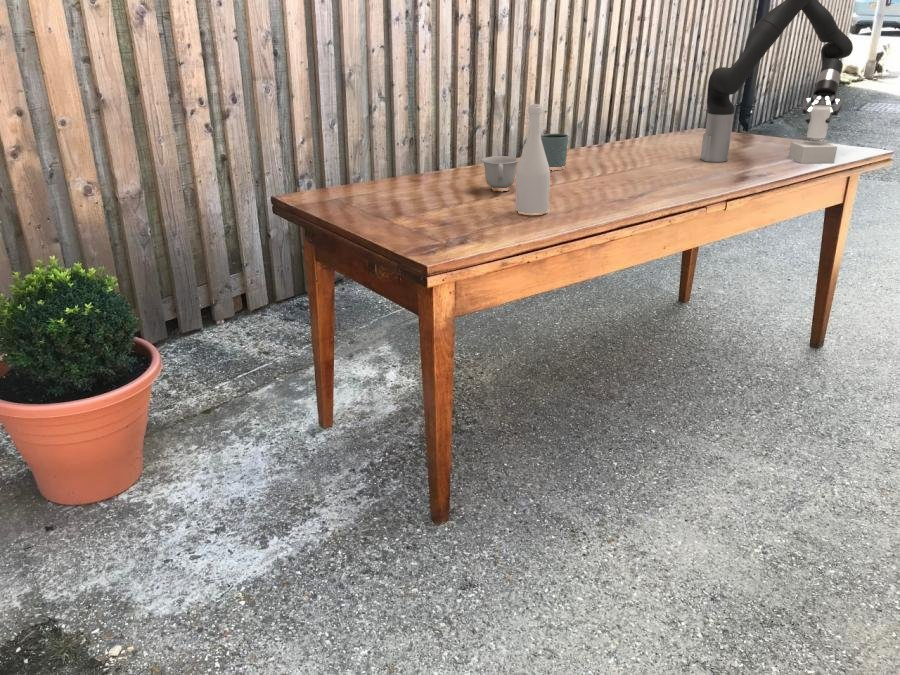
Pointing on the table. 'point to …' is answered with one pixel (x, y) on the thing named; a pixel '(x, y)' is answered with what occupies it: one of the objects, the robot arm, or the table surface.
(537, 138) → the wine bottle
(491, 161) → the teacup
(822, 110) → the can
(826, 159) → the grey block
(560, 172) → the table surface
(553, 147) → the green cup
